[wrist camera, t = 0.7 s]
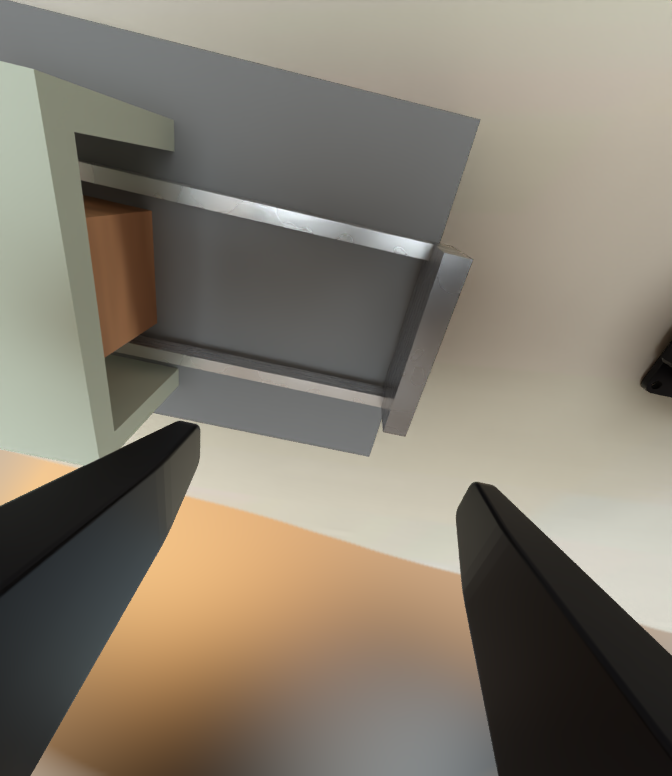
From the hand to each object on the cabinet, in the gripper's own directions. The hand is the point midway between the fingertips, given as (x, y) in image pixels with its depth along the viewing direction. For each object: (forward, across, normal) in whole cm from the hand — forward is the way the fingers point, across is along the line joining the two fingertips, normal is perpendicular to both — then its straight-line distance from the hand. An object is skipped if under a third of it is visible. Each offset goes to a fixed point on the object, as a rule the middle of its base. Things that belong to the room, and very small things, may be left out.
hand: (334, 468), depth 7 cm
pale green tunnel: (+10, +11, 0) cm, 15 cm away
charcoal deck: (+13, +10, 0) cm, 16 cm away
